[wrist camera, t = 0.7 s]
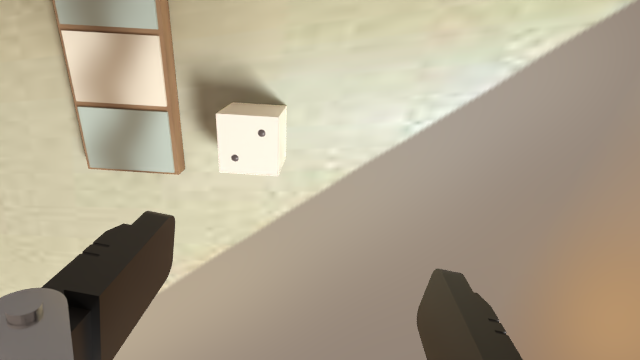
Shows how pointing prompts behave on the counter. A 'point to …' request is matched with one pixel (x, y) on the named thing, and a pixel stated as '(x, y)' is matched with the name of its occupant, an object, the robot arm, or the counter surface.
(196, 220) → the counter surface
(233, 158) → the die
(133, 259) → the robot arm
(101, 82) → the board
